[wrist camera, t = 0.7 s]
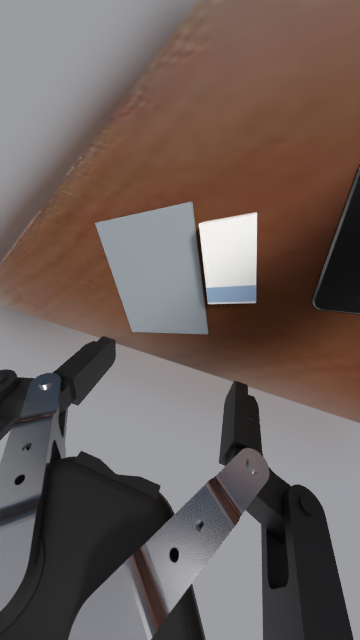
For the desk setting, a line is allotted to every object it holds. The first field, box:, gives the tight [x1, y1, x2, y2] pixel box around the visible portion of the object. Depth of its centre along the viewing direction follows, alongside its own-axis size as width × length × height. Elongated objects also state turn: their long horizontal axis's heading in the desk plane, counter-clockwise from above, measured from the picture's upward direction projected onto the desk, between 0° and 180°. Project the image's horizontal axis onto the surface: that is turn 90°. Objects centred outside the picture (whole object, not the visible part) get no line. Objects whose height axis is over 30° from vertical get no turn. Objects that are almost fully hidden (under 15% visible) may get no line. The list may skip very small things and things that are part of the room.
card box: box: [199, 212, 257, 304], centre depth 23 cm, size 10×6×3 cm, turn 10°
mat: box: [95, 202, 208, 334], centre depth 29 cm, size 14×18×1 cm
